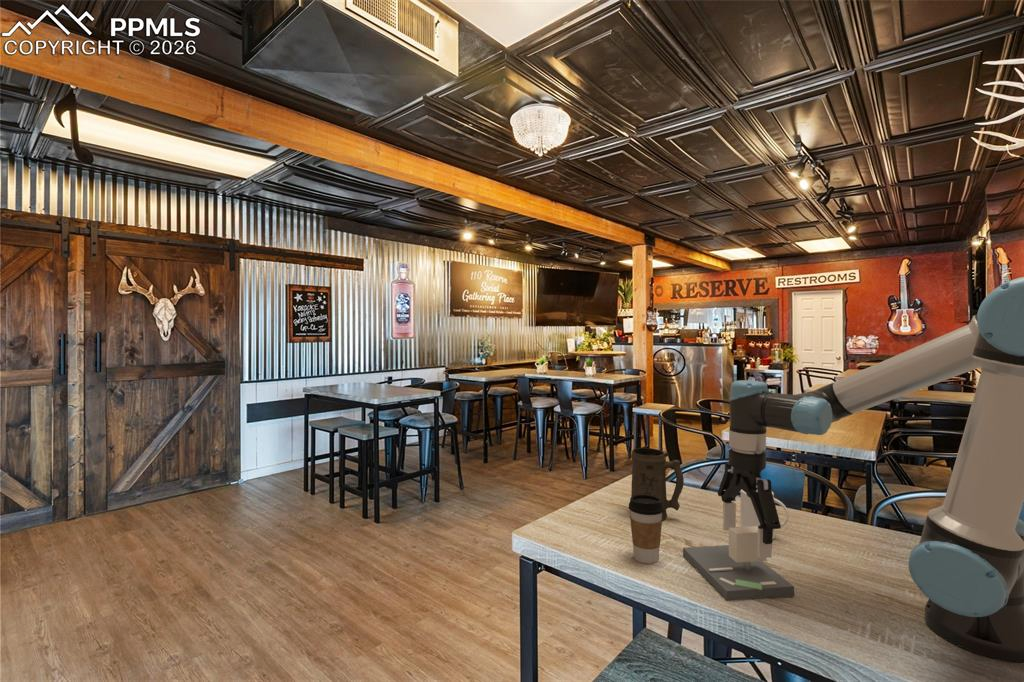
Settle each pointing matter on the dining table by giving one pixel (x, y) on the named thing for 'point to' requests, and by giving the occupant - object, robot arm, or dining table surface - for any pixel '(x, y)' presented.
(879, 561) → the dining table surface
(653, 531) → the coffee cup
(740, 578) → the tuner board
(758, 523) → the mug
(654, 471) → the beer stein
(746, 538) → the peg
